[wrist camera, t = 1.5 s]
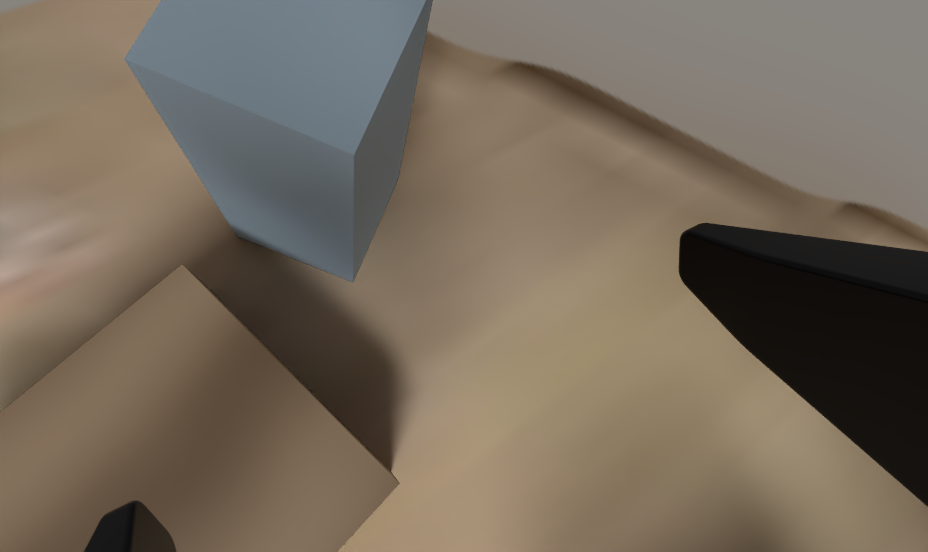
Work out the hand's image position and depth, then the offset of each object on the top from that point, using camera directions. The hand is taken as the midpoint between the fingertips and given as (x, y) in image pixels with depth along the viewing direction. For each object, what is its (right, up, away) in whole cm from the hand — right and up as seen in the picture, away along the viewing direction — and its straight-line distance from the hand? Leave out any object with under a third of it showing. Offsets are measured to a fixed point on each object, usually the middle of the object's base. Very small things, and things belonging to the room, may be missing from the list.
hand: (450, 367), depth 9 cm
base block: (-9, -5, +11) cm, 15 cm away
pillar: (-5, +4, +13) cm, 15 cm away
